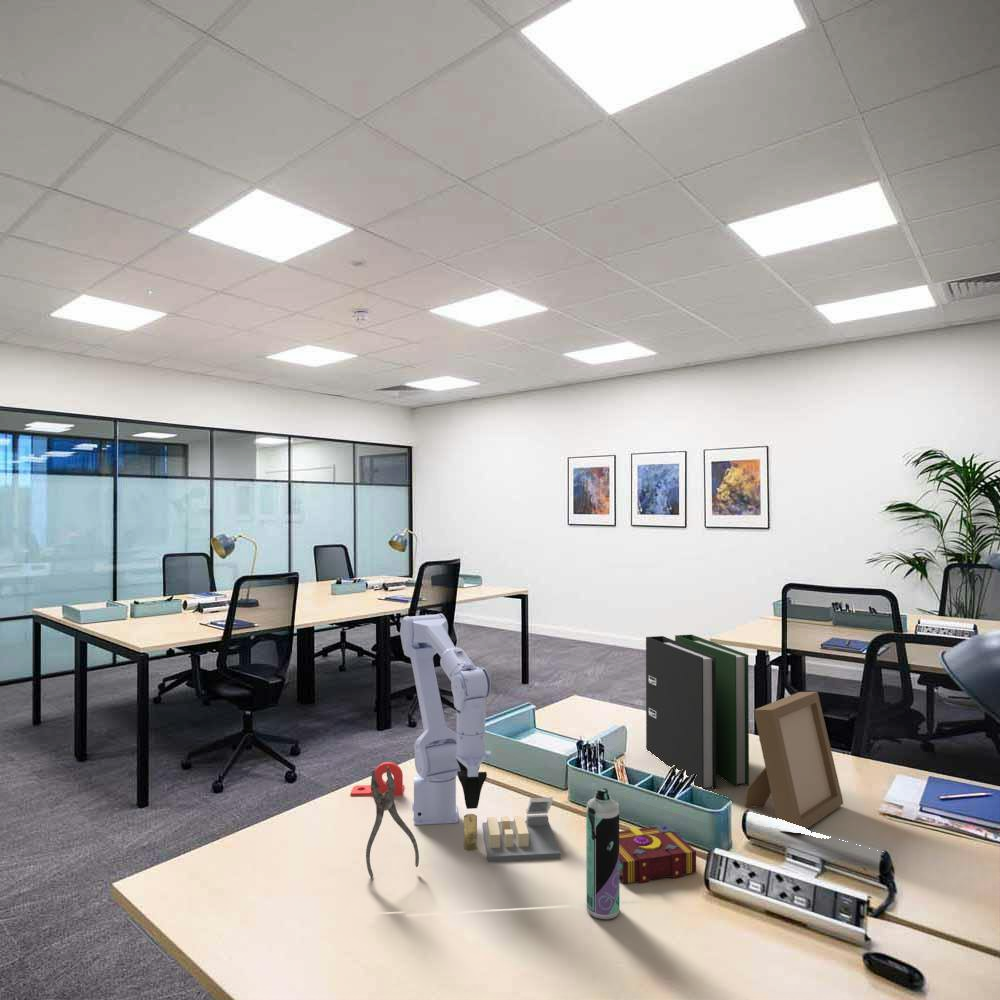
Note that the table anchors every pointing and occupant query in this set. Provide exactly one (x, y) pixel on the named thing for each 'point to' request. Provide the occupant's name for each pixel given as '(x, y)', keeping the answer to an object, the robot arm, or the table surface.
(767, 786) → the photo frame
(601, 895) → the spray can
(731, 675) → the binder
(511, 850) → the board
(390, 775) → the pliers
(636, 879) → the decorative book
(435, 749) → the robot arm
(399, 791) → the bracket
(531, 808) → the grey flat plate
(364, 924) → the table surface
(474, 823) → the pin
